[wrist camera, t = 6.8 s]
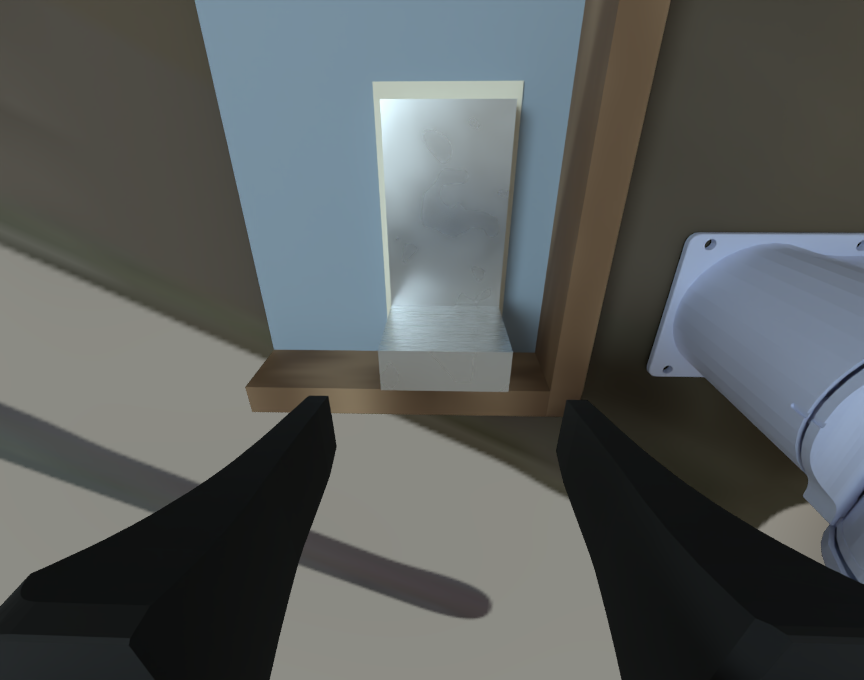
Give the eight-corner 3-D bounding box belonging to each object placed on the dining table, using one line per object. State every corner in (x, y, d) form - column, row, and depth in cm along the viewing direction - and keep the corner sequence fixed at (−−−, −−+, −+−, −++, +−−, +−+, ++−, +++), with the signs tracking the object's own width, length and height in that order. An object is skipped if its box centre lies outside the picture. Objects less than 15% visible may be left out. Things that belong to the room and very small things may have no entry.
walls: (708, -477, 10) (852, -807, 6) (556, 371, 22) (577, 417, 19) (99, -452, 10) (-76, -747, 7) (281, 368, 23) (252, 411, 19)
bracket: (491, 324, 20) (508, 391, 15) (397, 323, 21) (380, 390, 15) (509, 101, 16) (543, 87, 10) (386, 101, 16) (357, 88, 11)
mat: (708, -477, 10) (722, -509, 9) (556, 371, 22) (558, 377, 22) (99, -452, 10) (82, -481, 10) (281, 368, 23) (278, 373, 22)
